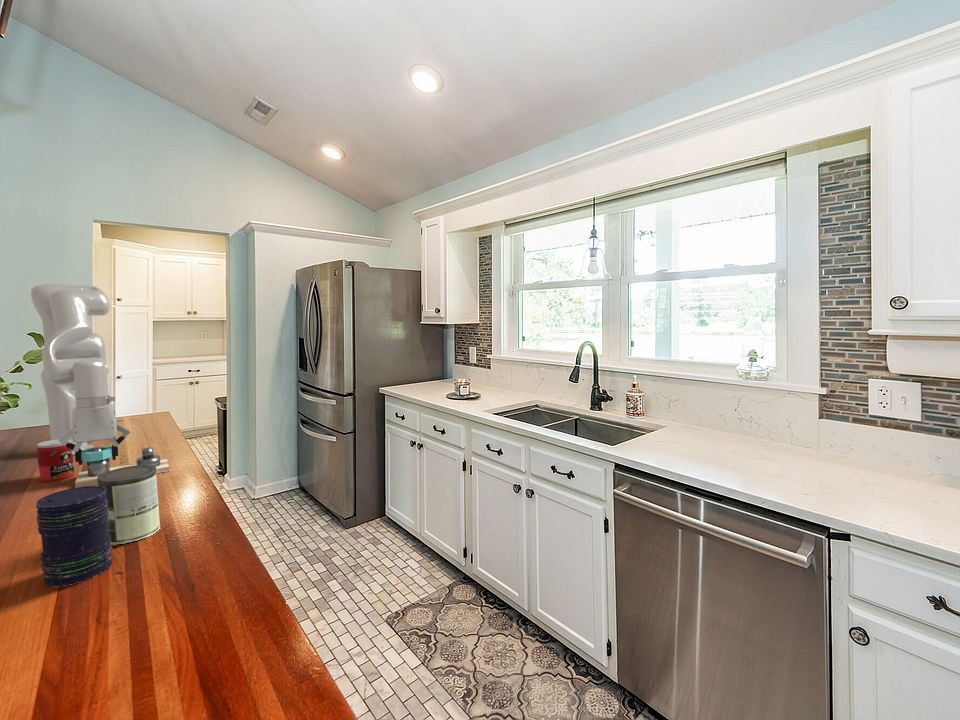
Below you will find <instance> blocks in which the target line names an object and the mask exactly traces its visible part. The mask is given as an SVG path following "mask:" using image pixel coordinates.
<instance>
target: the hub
mask: <svg viewBox="0 0 960 720" xmlns="http://www.w3.org/2000/svg"><path fill="white" fill-rule="evenodd" d="M141 454H142V456H140V457H137V458H136V461H135V462H136V463H137V465H151V466H155V467H157V466H159V465H160V460H161V456H160V455H156V454H154V447H145V448H142V449H141ZM136 463H135V464H136Z"/></svg>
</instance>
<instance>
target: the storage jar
mask: <svg viewBox="0 0 960 720" xmlns="http://www.w3.org/2000/svg"><path fill="white" fill-rule="evenodd" d="M105 494H106V490H105V488H104V487H100V486H99V485H91V486H85V487H78V488H75V487H73V488H68V489H63V490H60V491H55V492H53V493H50V494H48V495H46V496H43V497H41V498H39V499H38V500H37V501H36V504H35V506H36V509H37V510H36V515H37V516H36V523H37V531H38V534H39V535H41V536H40V537H41V545H42V546H41V547H42V551H41V554H40V561H41V571H42V572H43V576H44V579H43V582H45V583H44V585H45V584H46V585H48V586H63V585H69V584H74V583H77V582H81V581H84V580H87V579H89V578H92V577H94V576H96V575H98V574H101V573H102V572H104V571H106V570H107V569H108V568H109V567H110V566H111V564H112V565H113V561H112V560H113V559H111V558H112V545H111V539H110V536H109V535H108V531H107V518H108V514H109V513H108V510H107V509H108V504H107V501H106V496H105ZM111 567H112V566H111ZM111 567H110V568H111ZM110 568H109V569H110ZM109 569H108V570H109ZM108 570H107V571H108ZM107 571H106V572H107ZM101 575H102V574H101ZM46 585H45V586H46ZM48 586H47V587H48Z"/></svg>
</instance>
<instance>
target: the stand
mask: <svg viewBox="0 0 960 720" xmlns="http://www.w3.org/2000/svg"><path fill="white" fill-rule="evenodd" d="M97 451H102V447H101V446H93V448H92V452H97ZM86 465H87V466H86V467H87V468H86V469H87V471H88V476H89V477H97V476H99V475H101V474H103V473H105V472H108V471H110V468H111V467H110V458H107V459H104V460H98V461H92V462H87V461H86Z"/></svg>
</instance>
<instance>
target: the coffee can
mask: <svg viewBox="0 0 960 720" xmlns="http://www.w3.org/2000/svg"><path fill="white" fill-rule="evenodd" d="M156 471H157V469H156V467H155V466H151V465H136V466H128V467H123V468H118V469H114V470H111V471H108V472H105V473H103V474H101V475H99V476H98V477H97V481H98V484H97V486H100V487H104V488H105V490H106V494H105V496H106V501H107V504H108V509H107V510H108V513H109V514H108V518H107V531H108V535H109V536H110V539H111V546H118V545H117V544H123V543H127V542H132V541H137V540H140V539H143V538H146V537H149V536H151V535H152V536H154V535H155V533H156V532H157V531H158V530H159V529H160V530H161V528H160V527H161V522H160V521H161V520H160V509H159V497H158V495H159V493H158V483H157V482H158V481H157V474H156ZM160 530H159V531H160ZM159 531H158V532H159ZM158 532H157V533H158ZM157 533H156V534H157ZM153 534H154V535H153ZM152 536H151V537H152ZM149 538H150V537H149ZM146 539H147V538H146ZM143 540H144V539H143Z"/></svg>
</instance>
